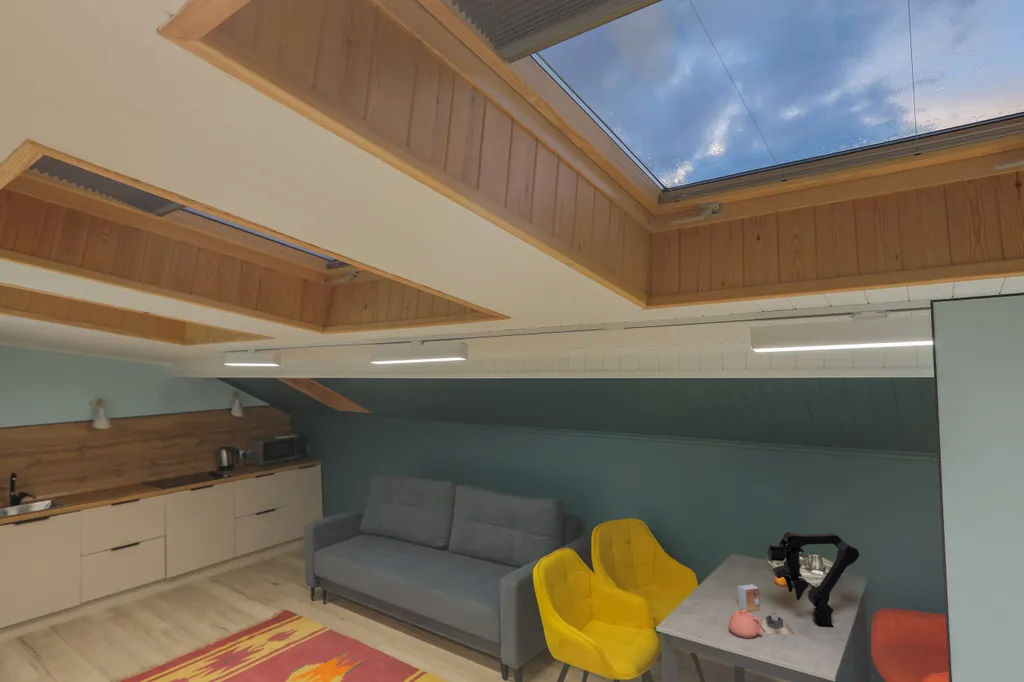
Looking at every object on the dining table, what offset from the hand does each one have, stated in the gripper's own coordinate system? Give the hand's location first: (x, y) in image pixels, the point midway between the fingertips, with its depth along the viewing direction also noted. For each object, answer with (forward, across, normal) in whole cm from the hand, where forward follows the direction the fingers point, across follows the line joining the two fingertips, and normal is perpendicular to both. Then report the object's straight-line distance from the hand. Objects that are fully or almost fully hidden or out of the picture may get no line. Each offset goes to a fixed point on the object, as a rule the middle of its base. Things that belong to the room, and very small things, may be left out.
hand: (794, 595), depth 253 cm
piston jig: (+12, +6, -11) cm, 17 cm away
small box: (+12, -14, -16) cm, 25 cm away
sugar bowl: (+12, +14, -26) cm, 32 cm away
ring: (+11, +6, -11) cm, 17 cm away
